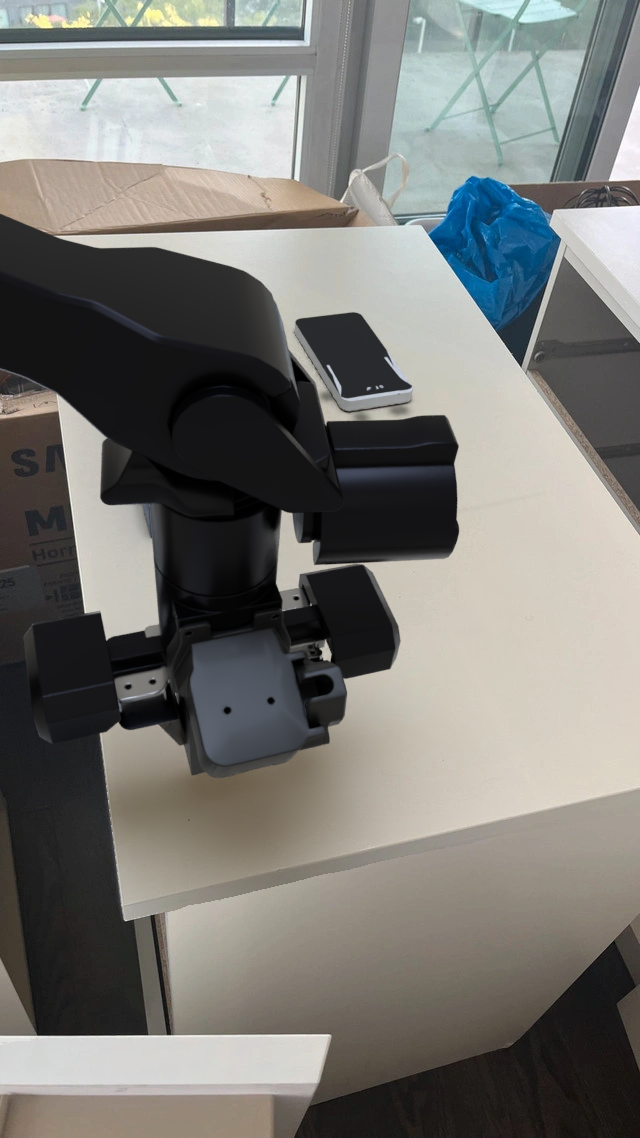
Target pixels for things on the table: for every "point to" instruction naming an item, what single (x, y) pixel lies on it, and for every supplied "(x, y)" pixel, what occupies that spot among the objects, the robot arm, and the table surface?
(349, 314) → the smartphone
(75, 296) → the robot arm
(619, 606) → the table surface
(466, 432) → the table surface
